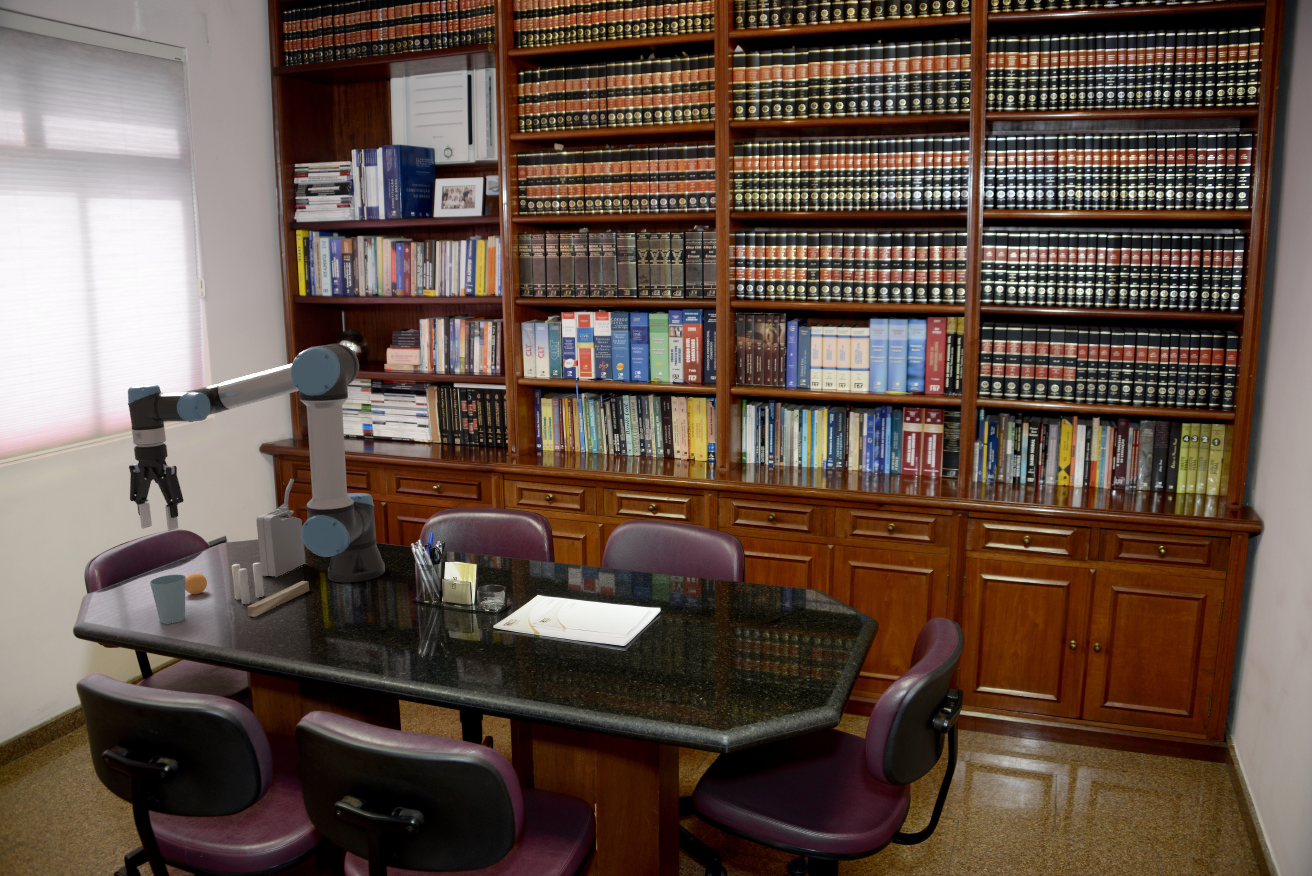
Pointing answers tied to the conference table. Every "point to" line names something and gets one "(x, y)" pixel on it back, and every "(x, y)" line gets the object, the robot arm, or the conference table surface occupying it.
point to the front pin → (236, 581)
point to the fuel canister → (280, 540)
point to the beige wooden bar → (278, 598)
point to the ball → (195, 583)
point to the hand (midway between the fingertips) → (159, 528)
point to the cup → (169, 597)
